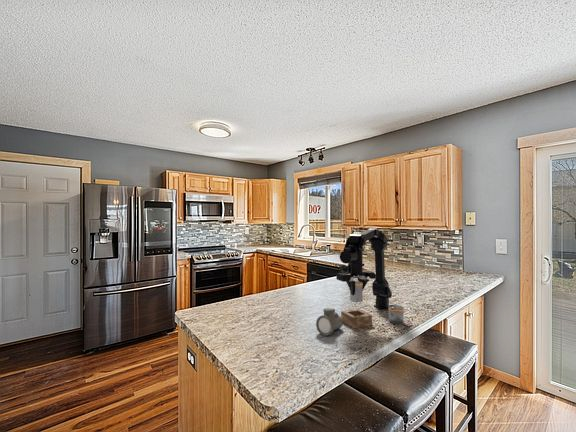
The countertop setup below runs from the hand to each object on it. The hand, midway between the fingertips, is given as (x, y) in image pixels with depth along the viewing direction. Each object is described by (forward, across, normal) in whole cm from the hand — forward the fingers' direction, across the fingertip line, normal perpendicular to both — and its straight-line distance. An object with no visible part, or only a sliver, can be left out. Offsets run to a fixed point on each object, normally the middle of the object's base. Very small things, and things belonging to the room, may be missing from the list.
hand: (356, 294), depth 130 cm
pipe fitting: (+14, +16, +4) cm, 21 cm away
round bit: (+13, -18, +6) cm, 23 cm away
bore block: (+13, 0, 0) cm, 13 cm away
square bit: (+3, 0, 0) cm, 3 cm away
